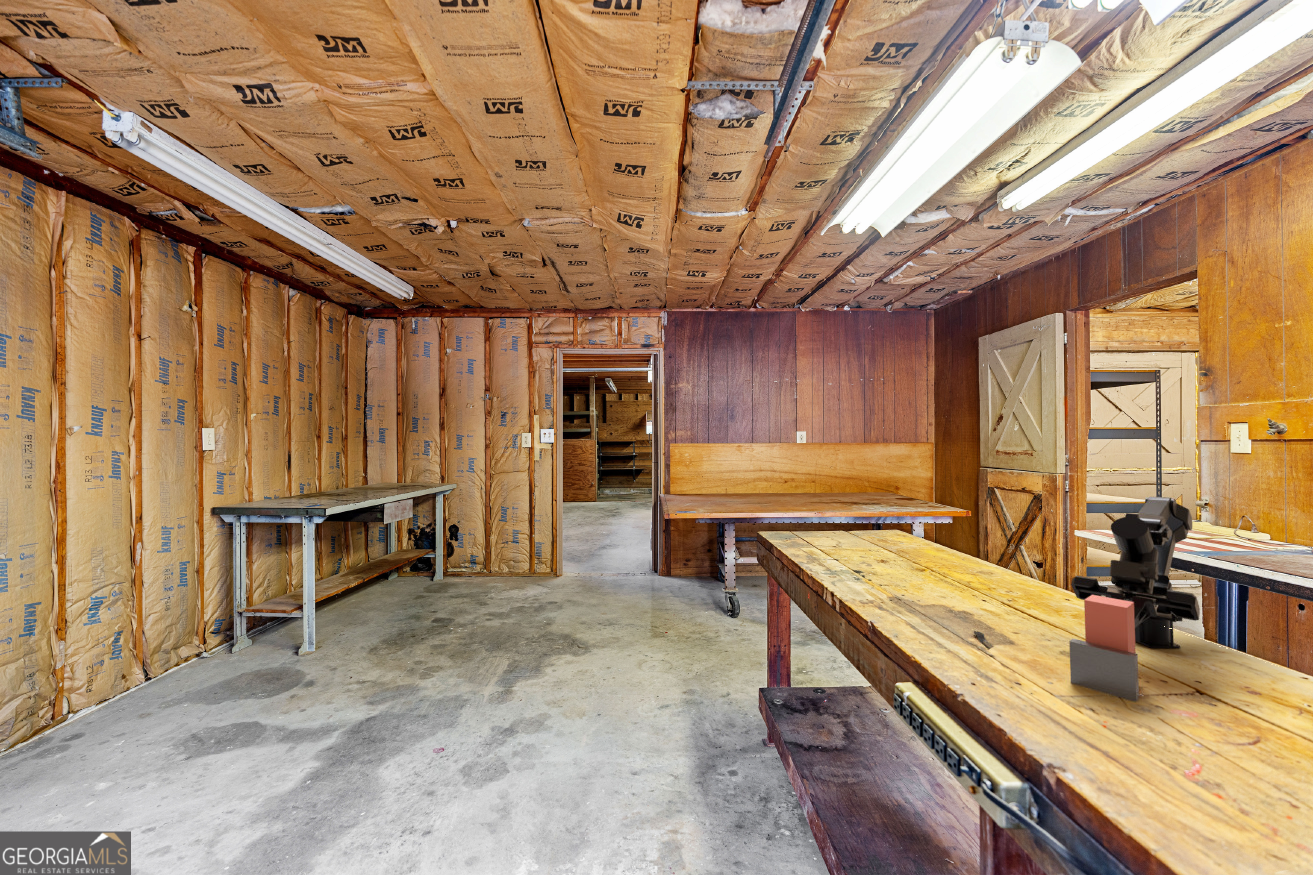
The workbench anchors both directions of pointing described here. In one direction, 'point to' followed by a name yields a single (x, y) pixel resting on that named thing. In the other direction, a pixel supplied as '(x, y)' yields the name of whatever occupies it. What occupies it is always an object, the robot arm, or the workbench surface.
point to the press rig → (1104, 669)
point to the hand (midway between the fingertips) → (1125, 632)
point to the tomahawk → (983, 639)
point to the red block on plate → (1110, 622)
